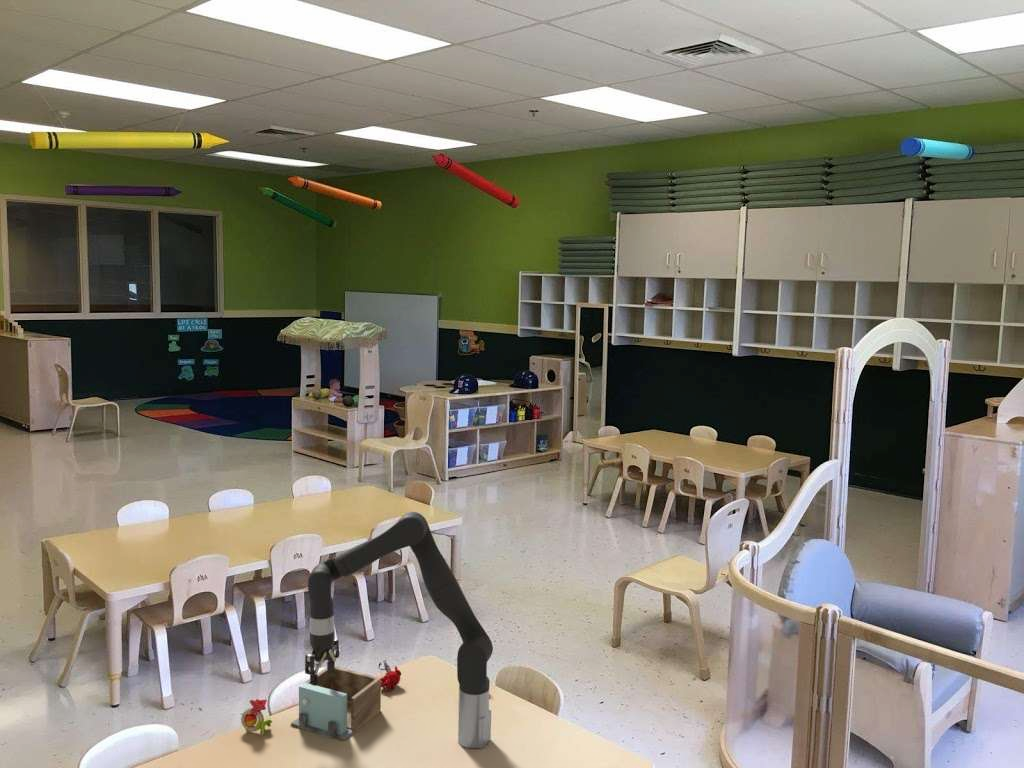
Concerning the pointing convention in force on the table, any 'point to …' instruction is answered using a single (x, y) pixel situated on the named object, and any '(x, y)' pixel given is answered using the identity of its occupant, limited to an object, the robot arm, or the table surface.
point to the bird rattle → (255, 717)
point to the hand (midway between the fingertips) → (322, 679)
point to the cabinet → (348, 700)
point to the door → (323, 707)
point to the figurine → (390, 677)
